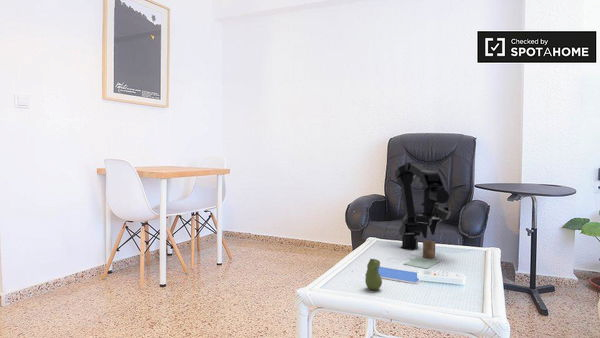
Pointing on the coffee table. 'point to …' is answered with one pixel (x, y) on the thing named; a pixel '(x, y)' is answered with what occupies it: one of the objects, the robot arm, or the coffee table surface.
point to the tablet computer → (398, 275)
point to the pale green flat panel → (421, 262)
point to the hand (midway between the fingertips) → (429, 236)
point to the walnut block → (429, 249)
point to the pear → (373, 275)
